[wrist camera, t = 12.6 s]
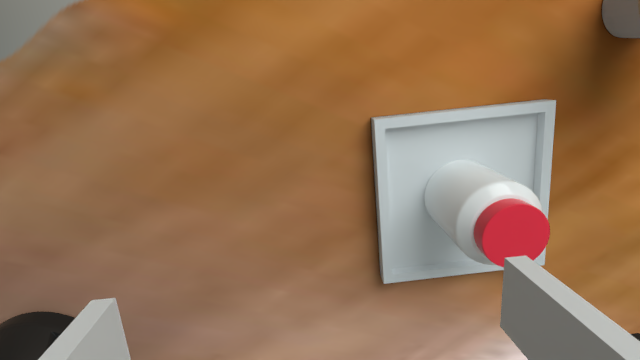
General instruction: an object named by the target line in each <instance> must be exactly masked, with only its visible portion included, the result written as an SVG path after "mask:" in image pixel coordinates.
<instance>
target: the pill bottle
mask: <svg viewBox="0 0 640 360" xmlns="http://www.w3.org/2000/svg"><path fill="white" fill-rule="evenodd" d="M424 203H425V207H426V210H427V212H428V214H429V215H430V217H431V218H432V219H433V220H434V222H435V223H436V224H437V225H438V226H439V227H440V228H441V229H442V230H443V231H444V232H445V233H446V235H447V236H448V237H449V238H450V239H451V240H452V241H453V242H454V243H455V244H456V245H457V246H458V248H459V249H460V250H461V251H462V252H463V253H464V254H465V255H467V256H468V257H469V258H471V259H472V260H474V261H476V262H479V263H482V264H488V265H498V266H501V267H504V259H505V258H507V257H516V256H527V257H529V258H530V259H531V260H535V259H536V258H537V257H538V256H539V255H540V254H541V253H542V252H543V250H544V249H545V247H546V245H547V243H548V240H549V235H550V226H549V223H548V220H547V218H546V216H545V215H544V214H543V209H542V206H541V203H540V201H539V199H538V197H537V196H536V195H535V194H534V193H533V191H532V190H531V189H529V188H528V187H526V186H525V185H523V184H521V183H519V182H517V181H515V180H513V179H511V178H509V177H507V176H505V175H503V174H501V173H499V172H497V171H494V170H492V169H490V168H488V167H486V166H484V165H482V164H480V163H478V162H475V161H472V160H456V161H452V162H449V163H447V164H445V165H443V166H442V167H440V168H439V169H438V170H437V171H436V172H435V173H434V174H433V175H432V176H431V178H430V179H429V181H428V183H427V185H426V188H425V192H424Z"/></svg>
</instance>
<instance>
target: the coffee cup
mask: <svg viewBox="0 0 640 360" xmlns="http://www.w3.org/2000/svg"><path fill="white" fill-rule="evenodd" d="M602 18H603V22H604V25H605V27H606V29H607V30H608V31H609V32H610V33H611V34H612V35H614V36H616V37H619V38H640V0H603V4H602Z"/></svg>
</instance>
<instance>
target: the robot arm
mask: <svg viewBox="0 0 640 360" xmlns="http://www.w3.org/2000/svg"><path fill="white" fill-rule="evenodd" d="M500 327H501V328H502V329H503V330H504V331H505V333H506V334H507V335H508V336H509V337H510V338H511V340H512V341H513V342H514V343H515V344H516V346H517V347H518V348H519V349H520V350H521V352H522V353H523V354H524V355H525V356H526V357H527V359H528V360H640V334H639V333H636V334H629V333H628V332H627V331H625V330H624V329H623V328H621V327H620V326H619V325H617V324H616V323H615V322H613V321H612V320H611V319H609V318H608V317H607V316H606V315H604V314H603V313H602V312H600V311H599V310H598V309H596V308H595V307H594V306H592V305H591V304H590V303H588V302H587V301H586V300H584V299H583V298H582V297H580V296H579V295H578V294H576V293H575V292H574V291H572V290H571V289H570V288H568V287H567V286H566V285H564V284H563V283H562V282H560V281H559V280H558V279H557V278H555V277H554V276H553V275H551V274H550V273H549V272H547V271H546V270H545V269H543V268H542V267H541V266H539V265H538V264H537V263H535V262H534V261H533V260H531V259H530V258H529V257H527V256H516V257H507V258H505V259H504V275H503V291H502V306H501V322H500ZM0 360H131V359H130V354H129V350H128V346H127V342H126V338H125V334H124V330H123V326H122V322H121V318H120V314H119V310H118V306H117V302H116V298H109V299H99V300H91V301H90V302H89V304H88V305H87V306H86V307H85V308H84V309H83V310H82V311H81V312H80V314H79V315H78V316H77V317H76V318H73V317H70V316H67V315H63V314H59V313H53V312H31V313H26V314H21V315H18V316H15V317H13V318H10V319H8V320H7V321H5V322H3V323H2V324H0Z"/></svg>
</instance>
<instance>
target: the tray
mask: <svg viewBox="0 0 640 360" xmlns="http://www.w3.org/2000/svg"><path fill="white" fill-rule="evenodd" d="M555 110H556V100H547V99H542V100H533V101H523V102H514V103H505V104H495V105H486V106H476V107H467V108H457V109H448V110H438V111H429V112H419V113H410V114H400V115H391V116H381V117H372V118H371V128H372V145H373V161H374V178H375V194H376V210H377V227H378V243H379V260H380V275H381V278H382V280H383V283H384V284H386V283H395V282H403V281H412V280H420V279H429V278H438V277H446V276H455V275H463V274H472V273H480V272H489V271H497V270H504V267H501V266H498V265H488V264H482V263H479V262H476V261H474V260H472V259H471V258H469V257H468V256H467V255H465V254H464V253H463V252H462V251H461V250H460V249H459V248H458V246H457V245H456V244H455V243H454V242H453V241H452V240H451V239H450V238H449V237H448V236H447V235H446V233H445V232H444V231H443V230H442V229H441V228H440V227H439V226H438V225H437V224H436V223H435V222H434V220H433V219H432V218H431V217H430V215H429V214H428V212H427V210H426V207H425V203H424V192H425V188H426V185H427V183H428V181H429V179H430V178H431V176H432V175H433V174H434V173H435V172H436V171H437V170H438V169H439V168H440V167H442V166H443V165H445V164H447V163H449V162H452V161H456V160H472V161H475V162H478V163H480V164H482V165H484V166H486V167H488V168H490V169H492V170H494V171H497V172H499V173H501V174H503V175H505V176H507V177H509V178H511V179H513V180H515V181H517V182H519V183H521V184H523V185H525V186H526V187H528V188H529V189H531V190H532V191H533V193H534V194H535V195H536V196H537V197H538V199H539V201H540V203H541V206H542V209H543V214H544V215H545V216H546V218H547V220H548V208H549V194H550V180H551V166H552V152H553V138H554V124H555ZM545 250H546V247H545V249H544V250H543V252H542V253H541V254H540V255H539V256H538V257H537V258H536V259H535V260H533V261H534V262H535V263H537V264H538V265H539V266H540V265H544V264H545Z"/></svg>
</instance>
